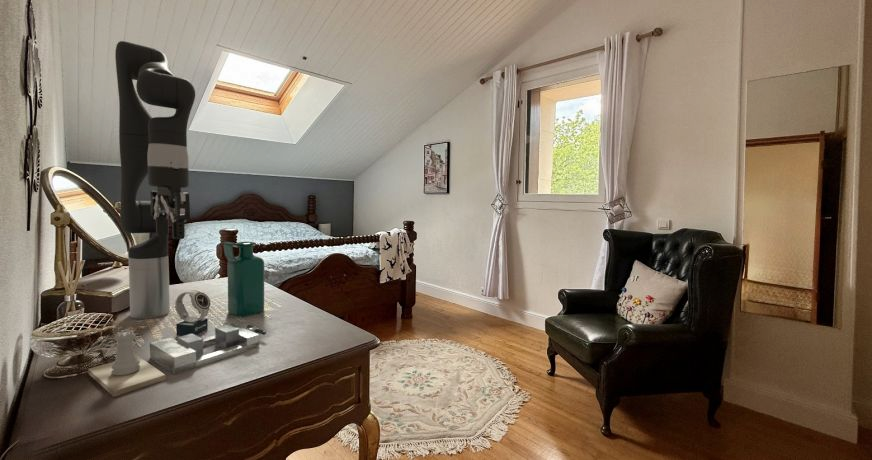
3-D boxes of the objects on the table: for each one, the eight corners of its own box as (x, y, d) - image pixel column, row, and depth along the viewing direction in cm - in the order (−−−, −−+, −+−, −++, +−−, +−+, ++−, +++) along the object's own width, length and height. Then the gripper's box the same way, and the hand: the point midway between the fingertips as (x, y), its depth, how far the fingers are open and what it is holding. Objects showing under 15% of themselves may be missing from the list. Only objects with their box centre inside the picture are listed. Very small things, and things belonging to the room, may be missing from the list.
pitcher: (252, 306, 121) (252, 239, 119) (266, 311, 116) (267, 241, 114) (220, 313, 113) (220, 241, 111) (234, 319, 108) (234, 244, 106)
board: (88, 373, 74) (88, 368, 74) (137, 360, 81) (137, 355, 81) (113, 396, 67) (113, 391, 66) (165, 379, 73) (165, 374, 73)
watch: (200, 337, 94) (199, 295, 93) (170, 335, 95) (169, 293, 94) (214, 329, 100) (214, 289, 99) (186, 327, 100) (185, 287, 99)
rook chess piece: (122, 366, 76) (121, 327, 75) (146, 366, 76) (144, 328, 76) (105, 376, 71) (103, 336, 71) (130, 376, 72) (128, 336, 71)
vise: (150, 358, 82) (149, 338, 82) (245, 331, 100) (245, 315, 99) (174, 374, 75) (174, 353, 75) (271, 342, 93) (271, 325, 93)
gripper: (136, 164, 85) (138, 235, 87) (162, 164, 77) (164, 241, 79) (173, 167, 91) (174, 233, 93) (201, 167, 84) (202, 239, 85)
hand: (170, 237), depth 86 cm, fingers open, 8 cm apart
